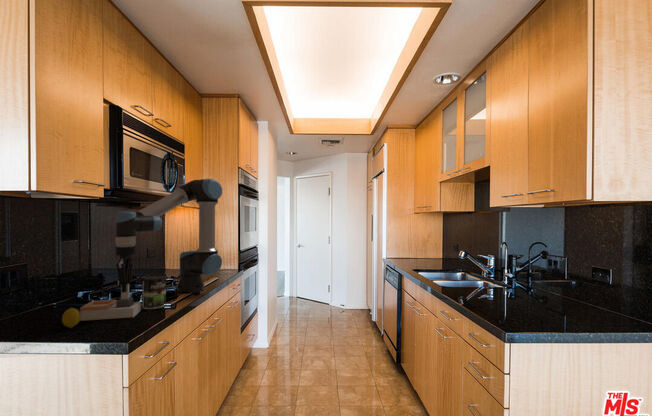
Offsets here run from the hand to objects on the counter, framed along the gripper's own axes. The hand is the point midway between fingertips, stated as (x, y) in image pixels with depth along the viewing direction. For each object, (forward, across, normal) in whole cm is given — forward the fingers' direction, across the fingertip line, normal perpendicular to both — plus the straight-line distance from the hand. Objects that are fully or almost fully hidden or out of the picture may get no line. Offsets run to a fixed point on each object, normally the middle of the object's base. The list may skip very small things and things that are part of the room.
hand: (125, 298), depth 142 cm
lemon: (+7, +14, -14) cm, 21 cm away
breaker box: (+7, 0, -5) cm, 9 cm away
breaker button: (+6, 0, 0) cm, 6 cm away
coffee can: (+7, -11, +9) cm, 16 cm away
